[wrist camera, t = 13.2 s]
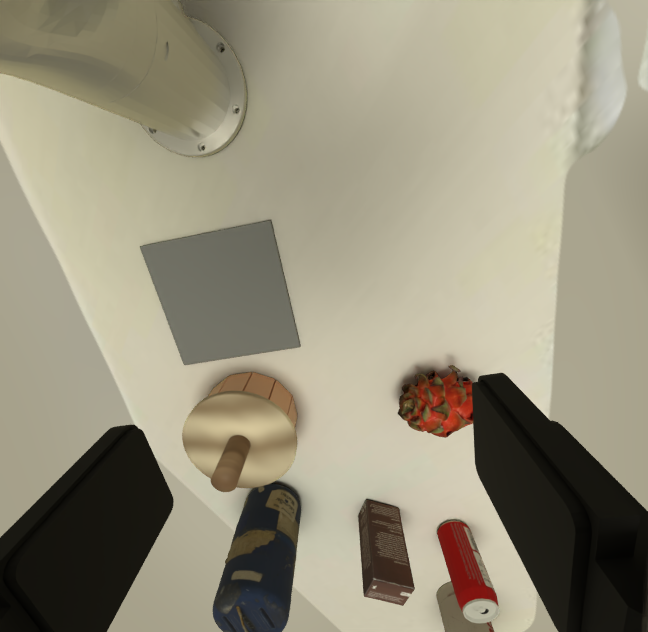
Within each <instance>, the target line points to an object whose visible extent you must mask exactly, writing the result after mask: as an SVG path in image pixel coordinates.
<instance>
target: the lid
mask: <svg viewBox="0 0 648 632" xmlns="http://www.w3.org/2000/svg"><path fill="white" fill-rule="evenodd" d="M182 437H183V445H184V448H185V451H186V453H187V455H188V457H189V459H190V460H191V462H192V463H193V464H194V465H195V466H196V468H198V469H199V470H200V471H201V472H202V473H203V474H205V475H206V476H208V477H209V478H211V484H212V485H213V487H214V488H215V489H217V490H219V491H222V492H230V491H232V490H234V489H235V488H236V487H239V488H255V487H260V486H264V485H267V484H270V483H272V482H274V481H276V480H278V479H279V478H281V477H282V476H283V475H284V474H285V473H286V472H287V471H288V470H289V468H290V467H291V465H292V463H293V461H294V458H295V455H296V449H297V435H296V431H295V428H294V425H293V423H292V421H291V420H290V418H289V417H288V415H287V414H286V413H285V412H284V411H283V410H282V409H281V408H280V407H279V406H278V405H276V404H275V403H274V402H272V401H270V400H269V399H267V398H265V397H263V396H260V395H257V394H254V393H250V392H245V391H224V392H219V393H216V394H213V395H211V396H209V397H207V398H205V399H203V400H202V401H201V402H199V403H198V404H197V405H196V406H195V407H194V409H193V410H192V411H191V413H190V414H189V416H188V417H187V419H186V421H185V424H184V427H183V433H182Z"/></svg>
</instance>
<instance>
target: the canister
mask: <svg viewBox="0 0 648 632" xmlns="http://www.w3.org/2000/svg"><path fill="white" fill-rule="evenodd" d="M300 516H301V504H300V501H299V499H298V497H297V496H296V494H295V493H294V492H293V491H291V490H290V489H288V488H286V487H284V486H281V485H276V484H267V485H264V486H260V487H257V488H255V489H254V490H253V491H252V492H251V493H250V494H249V495H248V497H247V499H246V501H245V504H244V508H243V511H242V514H241V516H240V519H239V522H238V524H237V527H236V531H235V534H234V537H233V541H232V544H231V549H230V551H229V553H228V558H227V559H226V561H225V563H226V565H225V568H224V571H223V575H222V578H221V581H220V584H219V588H218V591H217V593H216V597H215V600H214V604H213V617H214V620H215V622H216V624H217V625H218V627H219V628H220V629H221V630H222V631H223V632H282V631H283V629H284V628H285V626H286V624H287V621H288V617H289V610H290V604H291V592H292V585H293V577H294V569H295V561H296V551H297V542H298V533H299V524H300Z"/></svg>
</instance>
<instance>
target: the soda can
mask: <svg viewBox="0 0 648 632" xmlns="http://www.w3.org/2000/svg"><path fill="white" fill-rule="evenodd" d="M437 535H438V538H439V541H440V545H441V548H442V551H443V555H444V558H445V561H446V565H447V568H448V572H449V575H450V578H451V582H452V585H453V588H454V592H455V595H456V598H457V602H458V605H459V607H460V609H461V611H462V612H463V614H464V617H465V618H466V619H467V620H469V621H471V622H473V623H487V622H490V621H492V620H494V619H495V618H497V616H498V615H499V613H500V610H499V607H498V601H497V596H496V593H495V591H494V588H493V586H492V583H491V581H490V578H489V576H488V573H487V571H486V568H485V566H484V563H483V561H482V558H481V556H480V553H479V551H478V548H477V546H476V543H475V541H474V538H473V536H472V533H471V531H470V529H469V527H468V526H467V525H466V524H464V523H462V522H461V521H455V520H451V521H447V522H445V523H443V524H442V525H441V526H440V528H439V529H438V532H437Z"/></svg>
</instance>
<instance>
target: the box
mask: <svg viewBox="0 0 648 632" xmlns="http://www.w3.org/2000/svg"><path fill="white" fill-rule="evenodd" d="M358 518H359V533H360V548H361V562H362V577H363V592H364V597H369V598H373V599H378V600H382V601H386V602H390V603H394V604H398V605H402V606H403V605H404V604H405V602H406V601H407V599H408V598H409V597H410V595H411V594H412V592H413V591H414V589H415V587H414V583H413V578H412V573H411V568H410V563H409V558H408V553H407V548H406V543H405V538H404V533H403V528H402V523H401V517H400V512H399V508H397V507H393V506H389V505H385V504H381V503H377V502H374V501H370V500H366V501H365V502H364V505H363V506H362V509H361V511H360V513H359V515H358Z"/></svg>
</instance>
